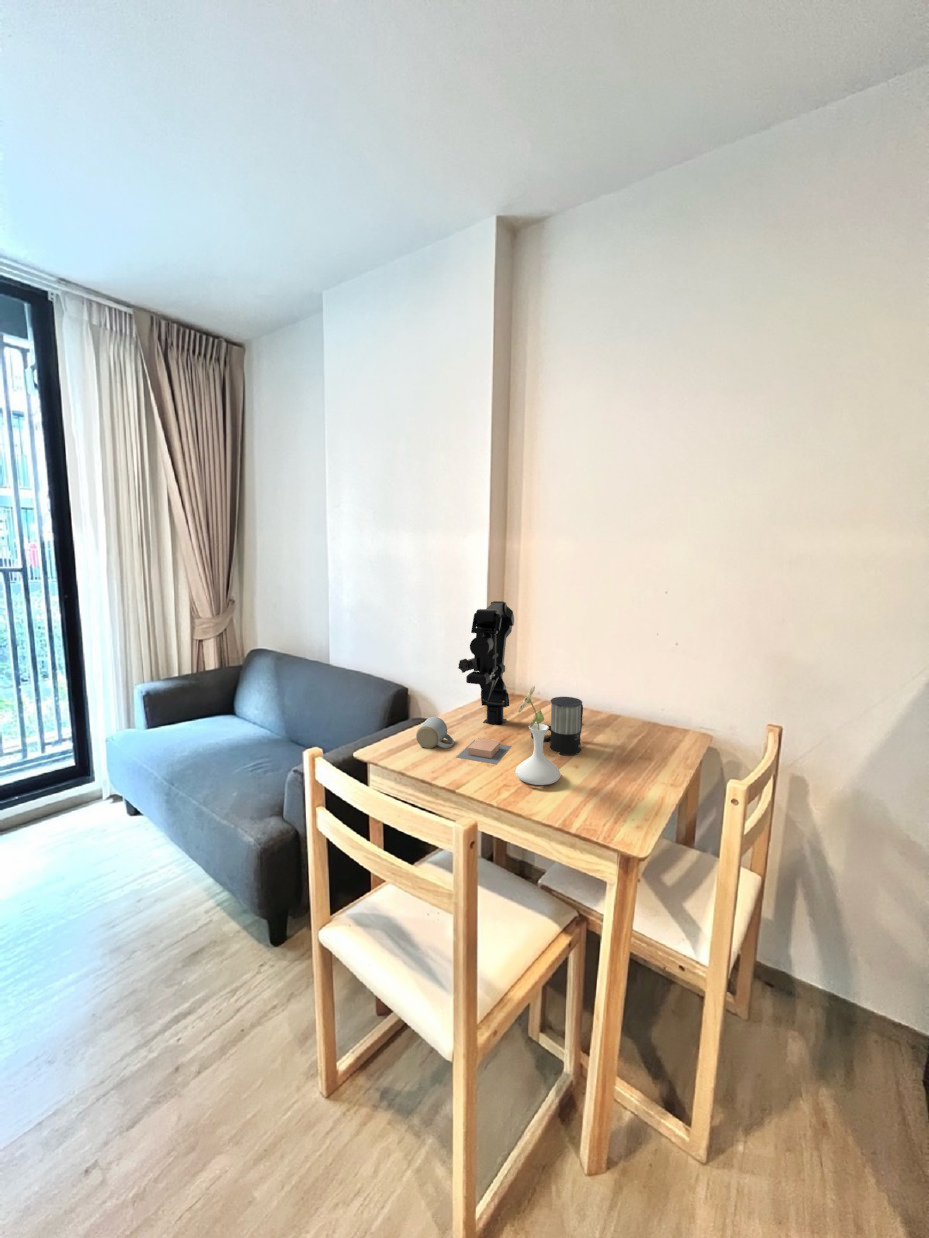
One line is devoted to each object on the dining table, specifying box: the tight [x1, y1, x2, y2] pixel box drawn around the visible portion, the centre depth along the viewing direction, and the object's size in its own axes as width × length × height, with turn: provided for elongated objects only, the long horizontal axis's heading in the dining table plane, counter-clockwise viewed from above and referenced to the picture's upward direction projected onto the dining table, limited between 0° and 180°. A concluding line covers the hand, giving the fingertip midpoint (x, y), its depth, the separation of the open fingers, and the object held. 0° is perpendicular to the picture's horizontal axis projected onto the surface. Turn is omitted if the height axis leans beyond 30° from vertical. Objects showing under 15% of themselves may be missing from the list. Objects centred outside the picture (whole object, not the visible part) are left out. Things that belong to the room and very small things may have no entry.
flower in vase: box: [514, 685, 562, 786], centre depth 123 cm, size 13×11×25 cm
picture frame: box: [468, 737, 501, 758], centre depth 141 cm, size 2×7×8 cm
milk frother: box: [530, 696, 584, 756], centre depth 146 cm, size 14×16×15 cm
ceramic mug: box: [415, 716, 455, 749], centre depth 146 cm, size 11×8×8 cm
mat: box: [455, 739, 513, 765], centre depth 141 cm, size 14×12×1 cm
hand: (486, 699), depth 152 cm, fingers closed
